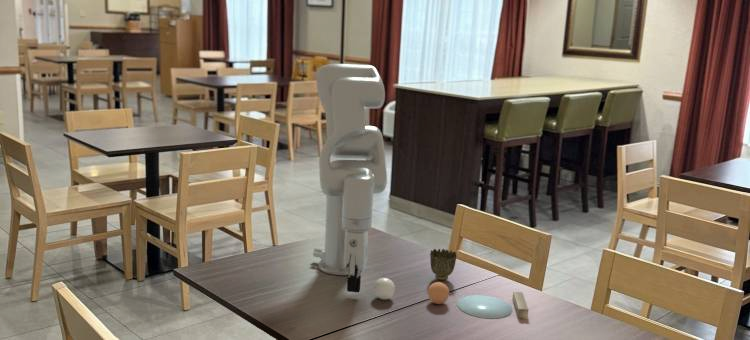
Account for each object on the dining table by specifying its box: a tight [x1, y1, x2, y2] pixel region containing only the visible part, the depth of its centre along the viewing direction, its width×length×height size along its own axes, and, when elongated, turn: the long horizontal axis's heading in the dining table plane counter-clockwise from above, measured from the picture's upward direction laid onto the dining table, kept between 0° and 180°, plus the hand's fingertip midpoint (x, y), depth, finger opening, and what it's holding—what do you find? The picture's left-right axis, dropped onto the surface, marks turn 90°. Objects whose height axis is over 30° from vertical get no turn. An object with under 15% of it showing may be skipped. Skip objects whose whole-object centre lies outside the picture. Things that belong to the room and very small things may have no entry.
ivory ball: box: [373, 277, 396, 300], centre depth 178 cm, size 6×6×6 cm
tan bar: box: [512, 291, 529, 320], centre depth 176 cm, size 2×11×2 cm, turn 176°
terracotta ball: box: [427, 281, 450, 305], centre depth 177 cm, size 6×6×6 cm
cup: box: [429, 248, 457, 282], centre depth 193 cm, size 8×7×8 cm
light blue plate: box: [456, 294, 513, 320], centre depth 177 cm, size 14×14×1 cm
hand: (353, 290), depth 178 cm, fingers closed
